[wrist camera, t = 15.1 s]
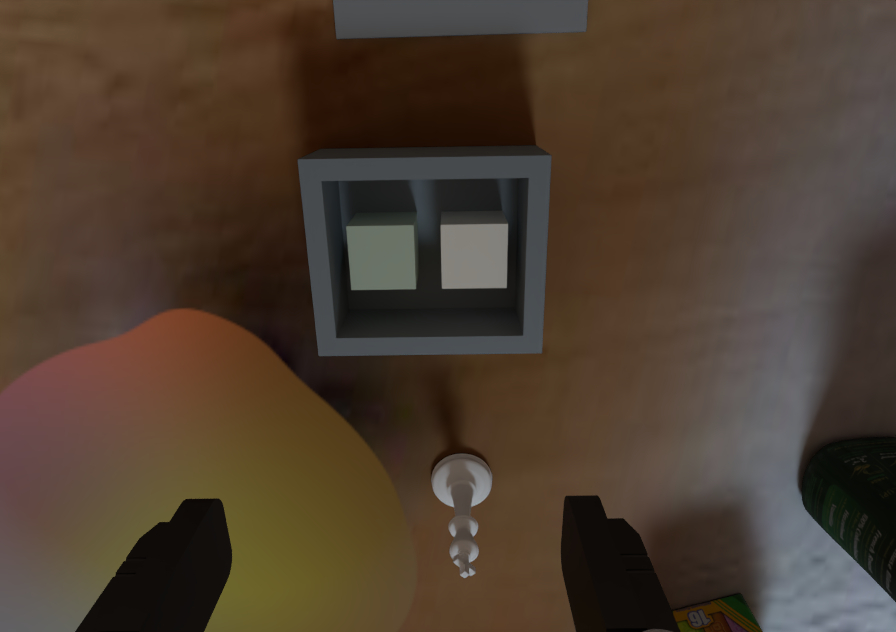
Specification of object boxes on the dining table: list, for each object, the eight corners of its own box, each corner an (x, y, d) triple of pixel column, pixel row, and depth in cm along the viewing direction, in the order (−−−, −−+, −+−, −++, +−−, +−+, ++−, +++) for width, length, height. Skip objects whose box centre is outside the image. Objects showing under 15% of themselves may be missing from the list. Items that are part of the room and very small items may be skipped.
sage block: (416, 211, 38) (413, 225, 34) (419, 270, 40) (415, 289, 36) (356, 212, 38) (346, 226, 34) (360, 271, 40) (351, 289, 36)
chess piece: (462, 442, 46) (465, 532, 36) (504, 478, 47) (518, 574, 38) (418, 478, 47) (411, 574, 38) (461, 513, 48) (464, 614, 39)
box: (536, 145, 37) (551, 155, 32) (529, 317, 42) (541, 353, 36) (320, 148, 38) (297, 159, 32) (336, 320, 42) (318, 356, 36)
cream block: (502, 210, 38) (507, 223, 34) (501, 269, 39) (506, 287, 36) (441, 211, 38) (440, 224, 34) (442, 269, 39) (441, 288, 36)
